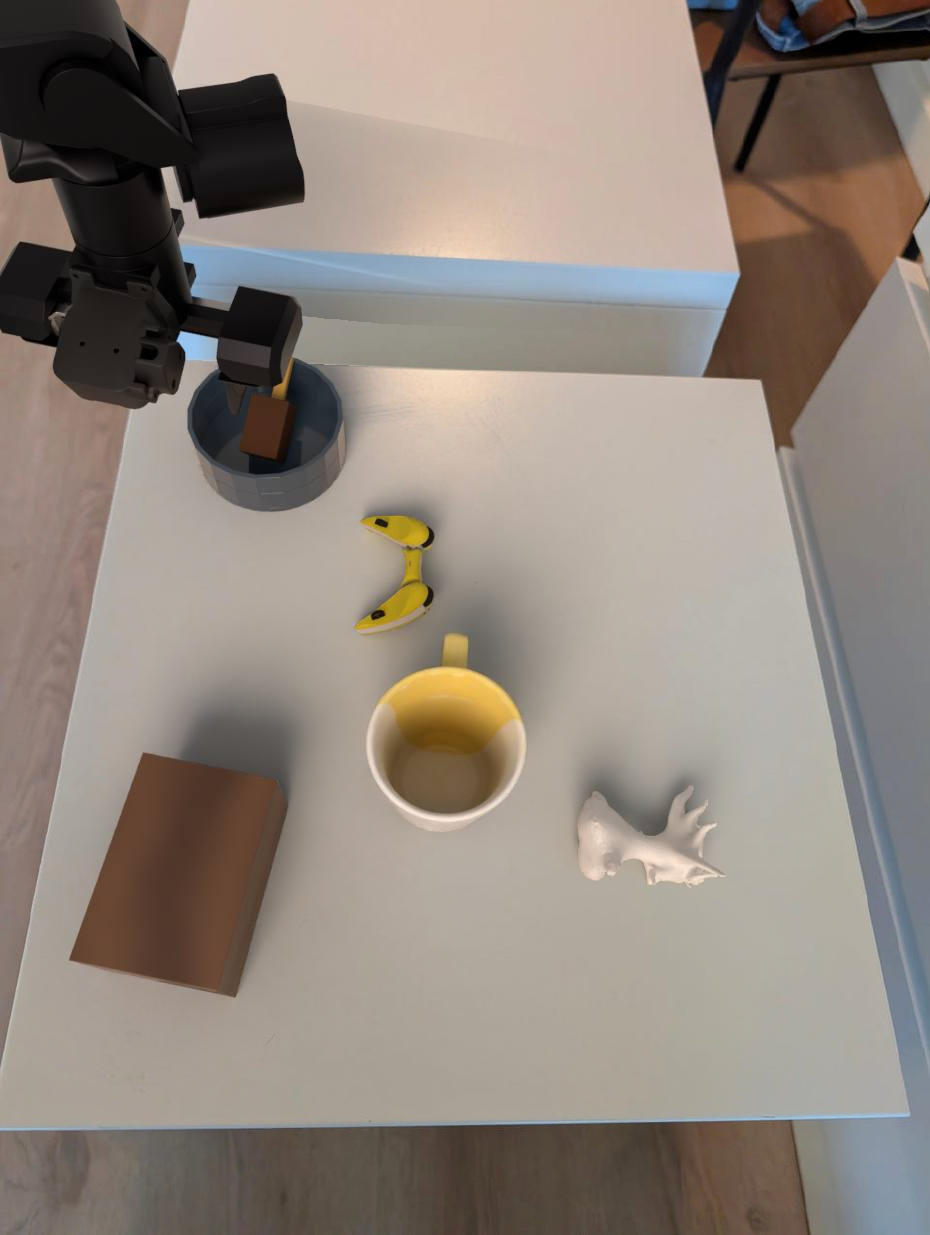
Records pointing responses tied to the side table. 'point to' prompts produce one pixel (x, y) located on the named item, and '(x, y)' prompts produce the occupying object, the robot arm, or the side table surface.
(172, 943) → the stand
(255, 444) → the chocolate ice cream bar
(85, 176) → the robot arm
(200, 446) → the bowl
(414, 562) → the game controller
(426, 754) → the mug
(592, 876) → the figurine
